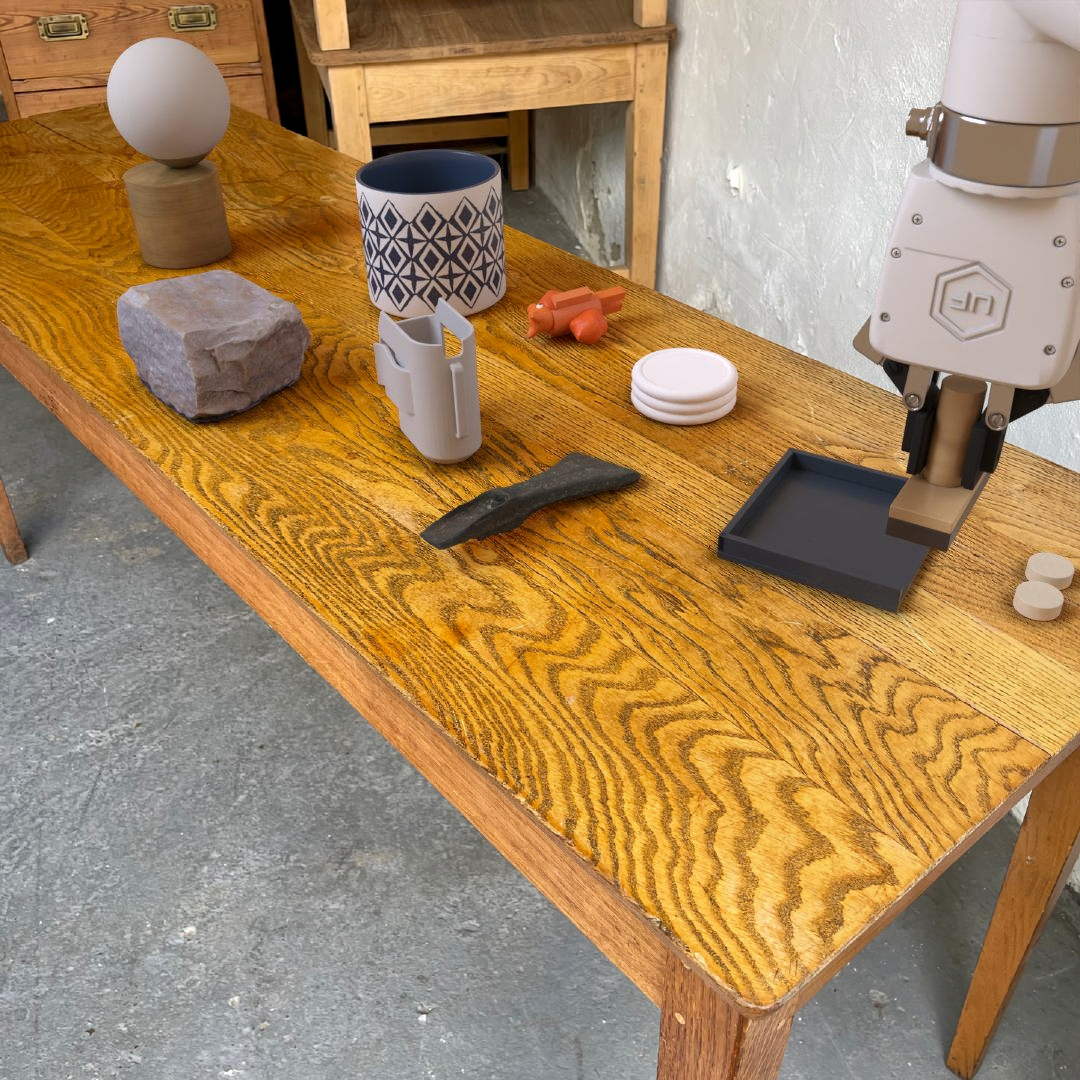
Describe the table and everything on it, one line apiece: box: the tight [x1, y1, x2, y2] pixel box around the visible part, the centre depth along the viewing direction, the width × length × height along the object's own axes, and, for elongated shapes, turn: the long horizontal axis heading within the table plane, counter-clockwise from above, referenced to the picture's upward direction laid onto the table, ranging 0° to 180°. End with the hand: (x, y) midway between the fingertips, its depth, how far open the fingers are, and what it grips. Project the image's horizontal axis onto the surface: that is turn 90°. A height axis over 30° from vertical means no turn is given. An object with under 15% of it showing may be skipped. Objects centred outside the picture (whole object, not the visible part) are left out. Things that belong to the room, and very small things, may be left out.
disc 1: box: [1024, 551, 1076, 591], centre depth 82 cm, size 3×3×1 cm
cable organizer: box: [372, 298, 483, 465], centre depth 97 cm, size 7×12×12 cm, turn 27°
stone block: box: [116, 269, 312, 425], centre depth 110 cm, size 17×12×15 cm
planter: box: [354, 148, 507, 320], centre depth 124 cm, size 16×16×14 cm
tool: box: [418, 451, 642, 551], centre depth 90 cm, size 21×8×3 cm, turn 136°
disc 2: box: [1012, 580, 1065, 622], centre depth 79 cm, size 3×3×1 cm
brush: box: [885, 374, 992, 553], centre depth 63 cm, size 4×9×8 cm, turn 147°
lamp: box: [106, 36, 233, 270], centre depth 136 cm, size 15×14×25 cm
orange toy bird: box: [526, 285, 627, 345], centre depth 117 cm, size 5×8×12 cm
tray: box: [716, 446, 932, 614], centre depth 87 cm, size 14×15×2 cm
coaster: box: [630, 347, 739, 426], centre depth 105 cm, size 10×10×4 cm
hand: (946, 469), depth 64 cm, fingers closed on brush, 2 cm apart
